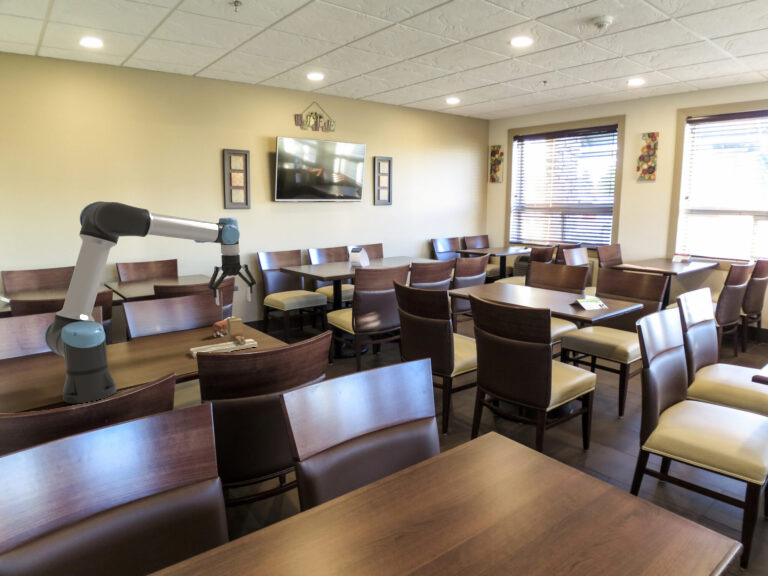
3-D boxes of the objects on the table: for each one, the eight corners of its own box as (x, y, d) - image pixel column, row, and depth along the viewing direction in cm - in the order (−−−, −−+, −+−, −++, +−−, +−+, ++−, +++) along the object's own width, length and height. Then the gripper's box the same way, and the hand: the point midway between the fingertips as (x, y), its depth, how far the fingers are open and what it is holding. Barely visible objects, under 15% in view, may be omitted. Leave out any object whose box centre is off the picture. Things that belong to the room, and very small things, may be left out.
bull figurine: (239, 332, 237) (238, 315, 235) (216, 339, 225) (215, 321, 224) (233, 330, 239) (232, 314, 237) (210, 337, 228) (209, 320, 226)
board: (257, 347, 212) (257, 342, 212) (194, 358, 198) (194, 353, 198) (251, 342, 219) (251, 338, 218) (190, 353, 205) (189, 348, 204)
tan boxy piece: (249, 348, 211) (248, 323, 209) (237, 350, 208) (236, 325, 206) (239, 340, 222) (238, 317, 220) (228, 342, 219) (226, 318, 218)
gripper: (256, 251, 221) (258, 297, 225) (198, 255, 208) (201, 304, 212) (261, 252, 215) (264, 300, 219) (202, 257, 201) (206, 308, 205)
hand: (233, 302), depth 215 cm, fingers open, 13 cm apart
